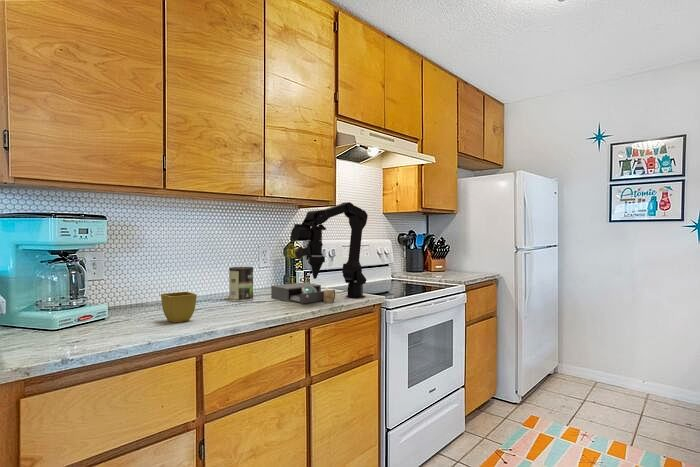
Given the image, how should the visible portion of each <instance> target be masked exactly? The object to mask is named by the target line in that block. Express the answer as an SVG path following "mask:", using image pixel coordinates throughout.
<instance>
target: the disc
mask: <svg viewBox="0 0 700 467" xmlns="http://www.w3.org/2000/svg"><path fill="white" fill-rule="evenodd" d="M312 292H317V290H316V289H315V288H314V287H313V286H311V285H303V286H302V289H301V293H302V294H304V293H312Z"/></svg>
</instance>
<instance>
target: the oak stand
mask: <svg viewBox="0 0 700 467" xmlns="http://www.w3.org/2000/svg"><path fill="white" fill-rule="evenodd" d="M333 290H334V289H327V290H326V289H324V290H323V291H324V300H323V303H324V304H334V303H335V299H334V291H333Z"/></svg>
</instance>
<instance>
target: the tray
mask: <svg viewBox="0 0 700 467" xmlns="http://www.w3.org/2000/svg"><path fill="white" fill-rule="evenodd" d="M332 290H333V291H334V300H335V299H336V289H332ZM324 291H325V290H321V291H320V292H312V293H304V294H298V295H290V297H289V300H294V301H293V302H299V304H302V305H303V304H308V303H314V302H322V301H323V302H324Z"/></svg>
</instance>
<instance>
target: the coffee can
mask: <svg viewBox="0 0 700 467" xmlns="http://www.w3.org/2000/svg"><path fill="white" fill-rule="evenodd" d="M228 270H229V272H228V273H229V274H228V275H229V278H228V280H229V288H228V289H229V291H228V292H229V299H228V301H230V302H236V303H237V302H238V303H239V302H250V301H253V300H254V267H253V266H232V267H228Z"/></svg>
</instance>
